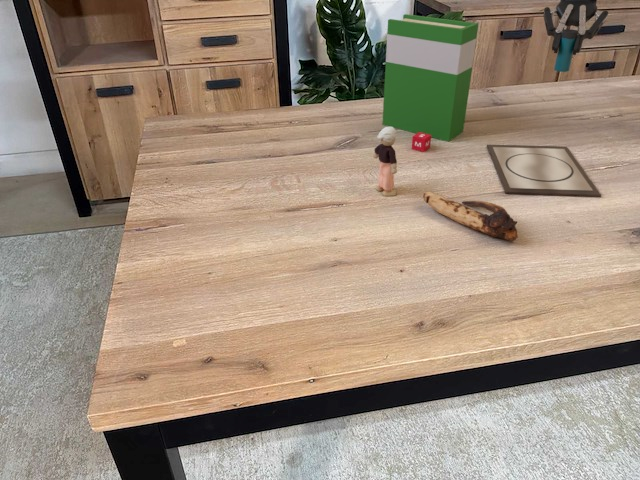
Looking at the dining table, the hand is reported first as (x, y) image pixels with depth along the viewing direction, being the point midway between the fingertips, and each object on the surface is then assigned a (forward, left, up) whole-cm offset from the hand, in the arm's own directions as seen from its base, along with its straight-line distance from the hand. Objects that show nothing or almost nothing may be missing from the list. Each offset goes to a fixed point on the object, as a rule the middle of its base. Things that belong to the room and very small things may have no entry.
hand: (565, 51), depth 118 cm
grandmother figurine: (+39, +36, -17) cm, 56 cm away
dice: (+31, +16, -17) cm, 39 cm away
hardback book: (+30, +4, -17) cm, 35 cm away
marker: (-1, -2, -4) cm, 5 cm away
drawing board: (+8, +25, -17) cm, 31 cm away
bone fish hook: (+24, +46, -17) cm, 54 cm away
